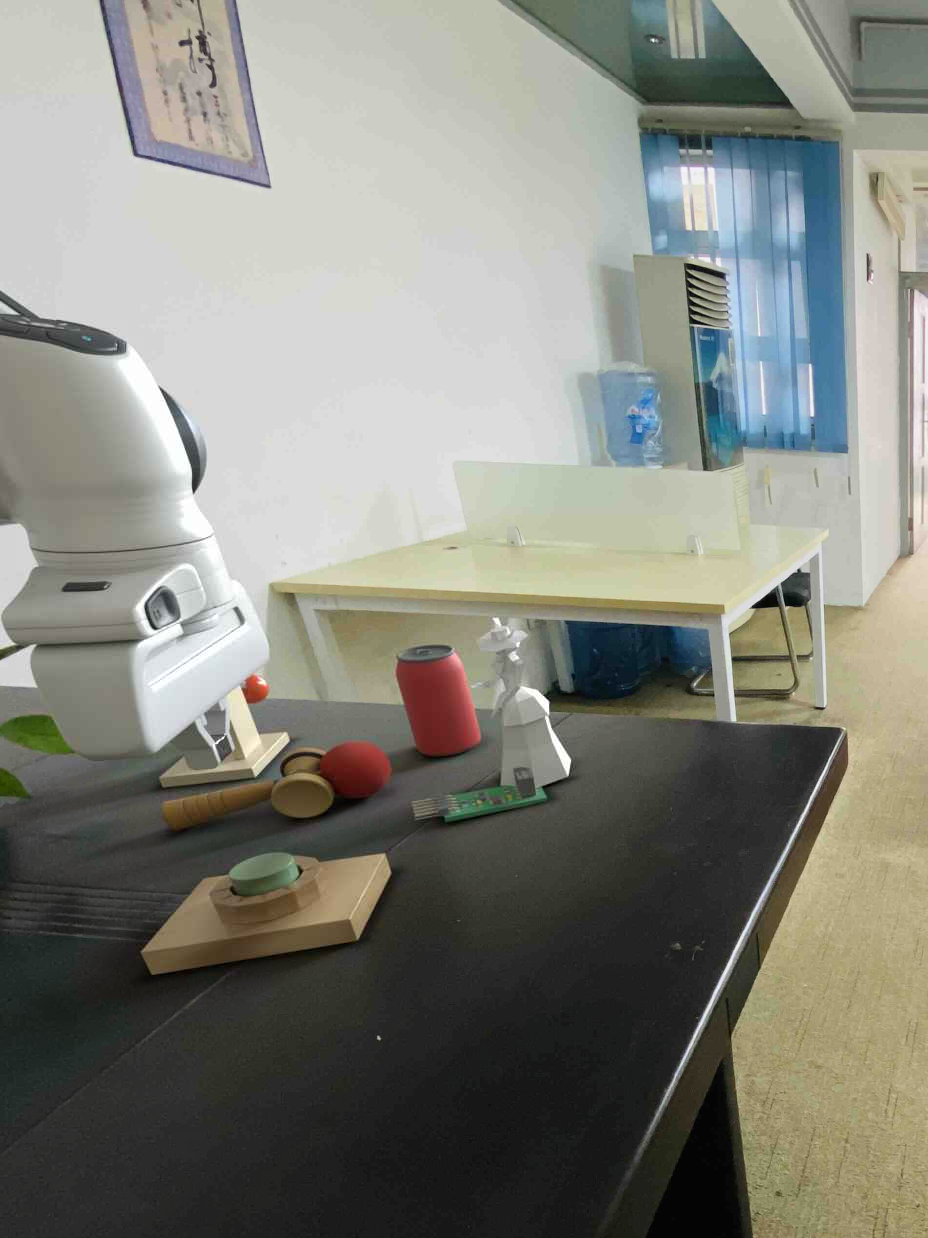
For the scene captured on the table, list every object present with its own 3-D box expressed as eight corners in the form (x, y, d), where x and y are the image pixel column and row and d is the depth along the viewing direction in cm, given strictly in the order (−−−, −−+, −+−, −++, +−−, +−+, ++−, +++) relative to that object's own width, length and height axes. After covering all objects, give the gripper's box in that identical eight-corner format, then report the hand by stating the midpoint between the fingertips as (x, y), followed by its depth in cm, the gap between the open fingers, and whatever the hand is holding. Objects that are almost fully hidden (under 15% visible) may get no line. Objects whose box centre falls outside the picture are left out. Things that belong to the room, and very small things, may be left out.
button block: (151, 975, 60) (129, 932, 59) (213, 899, 69) (195, 860, 67) (357, 941, 65) (343, 900, 63) (391, 873, 73) (379, 835, 71)
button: (227, 902, 63) (218, 883, 62) (248, 874, 66) (241, 856, 66) (289, 893, 64) (282, 874, 63) (307, 866, 68) (300, 848, 67)
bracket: (206, 748, 94) (164, 644, 89) (290, 740, 97) (253, 638, 91) (162, 787, 86) (112, 674, 80) (255, 777, 88) (212, 667, 83)
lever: (240, 707, 98) (237, 678, 98) (276, 704, 99) (274, 675, 99) (165, 687, 84) (163, 653, 85) (208, 684, 86) (206, 650, 86)
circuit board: (411, 803, 78) (406, 783, 82) (417, 831, 79) (412, 810, 83) (544, 778, 85) (534, 761, 89) (548, 804, 86) (538, 786, 90)
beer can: (465, 731, 101) (442, 639, 96) (493, 744, 98) (470, 650, 93) (407, 748, 96) (379, 653, 91) (434, 764, 93) (406, 665, 88)
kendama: (174, 863, 75) (396, 795, 83) (138, 802, 73) (369, 739, 81) (199, 837, 82) (403, 777, 90) (167, 781, 80) (379, 724, 88)
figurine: (483, 779, 89) (444, 621, 82) (550, 753, 96) (520, 605, 88) (522, 795, 86) (486, 633, 79) (589, 767, 92) (561, 615, 85)
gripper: (163, 550, 63) (223, 712, 69) (-23, 627, 46) (79, 834, 52) (262, 548, 65) (313, 706, 71) (120, 621, 48) (203, 821, 54)
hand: (213, 761), depth 61 cm, fingers closed
